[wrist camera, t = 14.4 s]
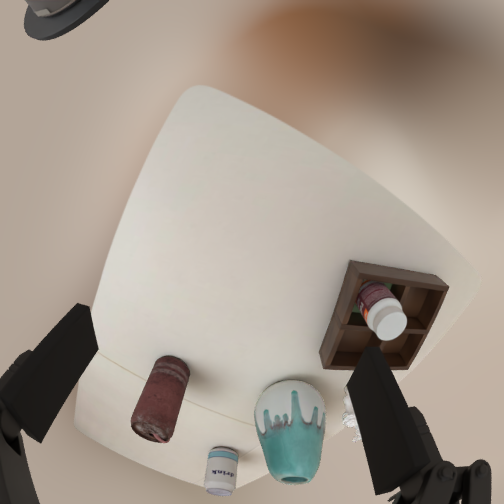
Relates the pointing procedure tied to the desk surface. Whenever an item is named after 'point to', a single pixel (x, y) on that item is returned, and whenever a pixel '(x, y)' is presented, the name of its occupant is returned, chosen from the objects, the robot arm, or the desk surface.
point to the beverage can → (221, 471)
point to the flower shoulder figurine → (350, 415)
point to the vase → (291, 430)
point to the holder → (360, 335)
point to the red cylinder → (161, 400)
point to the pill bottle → (381, 310)
